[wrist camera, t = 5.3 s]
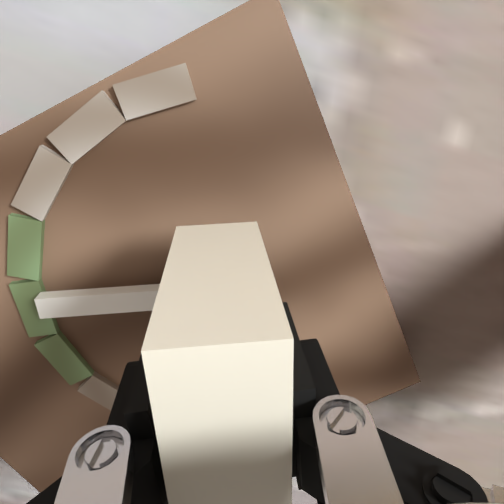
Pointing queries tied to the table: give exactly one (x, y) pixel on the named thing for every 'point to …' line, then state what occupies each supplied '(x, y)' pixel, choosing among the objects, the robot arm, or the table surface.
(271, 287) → the pointer knob
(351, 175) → the table surface
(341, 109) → the table surface
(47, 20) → the table surface
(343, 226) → the tuner board
